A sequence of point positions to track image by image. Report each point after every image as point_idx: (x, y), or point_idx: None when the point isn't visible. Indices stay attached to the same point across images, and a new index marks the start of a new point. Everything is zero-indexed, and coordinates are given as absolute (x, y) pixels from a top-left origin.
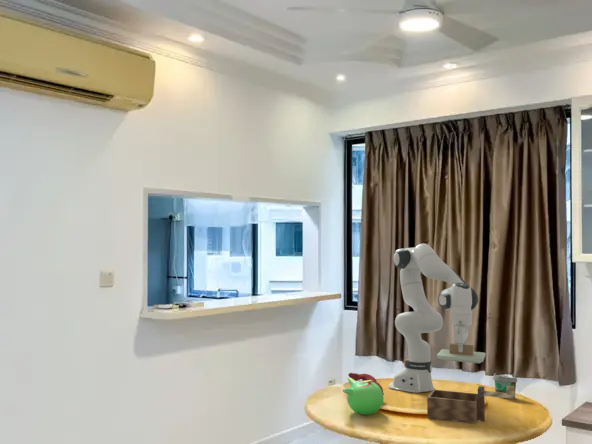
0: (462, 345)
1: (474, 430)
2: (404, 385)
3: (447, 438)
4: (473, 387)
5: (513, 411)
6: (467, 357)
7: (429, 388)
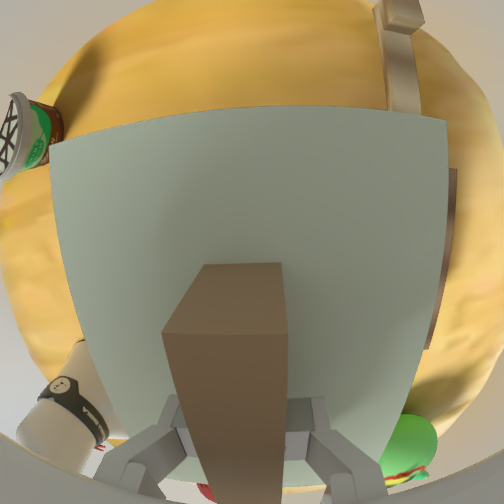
0: (369, 460)
1: (465, 169)
2: None
3: None
4: (17, 242)
5: (204, 60)
6: (419, 301)
7: None
